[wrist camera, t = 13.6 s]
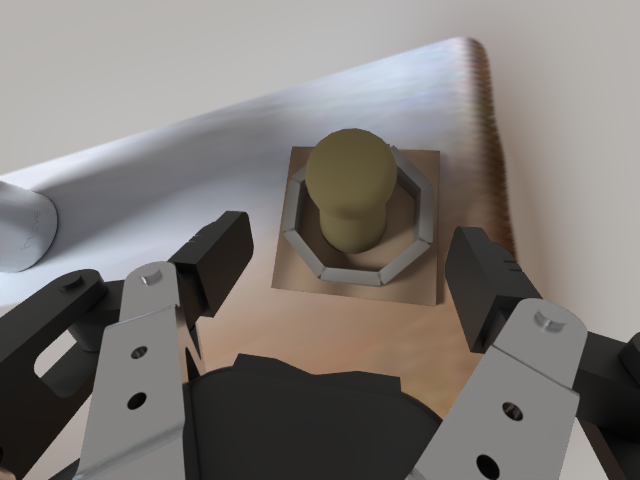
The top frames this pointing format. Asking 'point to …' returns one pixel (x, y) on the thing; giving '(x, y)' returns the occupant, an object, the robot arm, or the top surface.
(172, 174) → the top surface
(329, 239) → the cork
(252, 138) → the top surface
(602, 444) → the robot arm
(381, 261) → the socket base
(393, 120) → the top surface
